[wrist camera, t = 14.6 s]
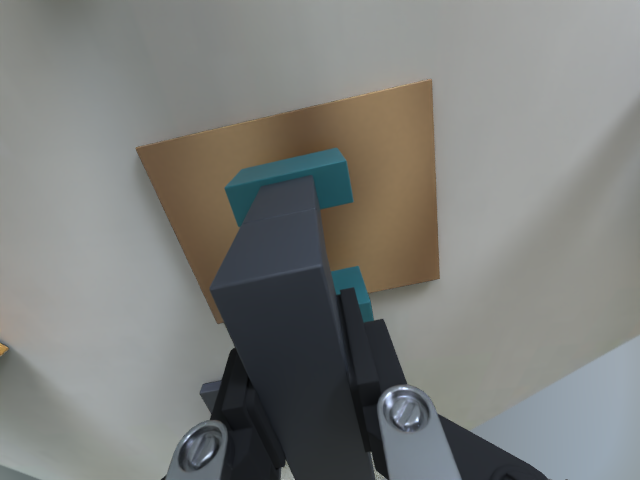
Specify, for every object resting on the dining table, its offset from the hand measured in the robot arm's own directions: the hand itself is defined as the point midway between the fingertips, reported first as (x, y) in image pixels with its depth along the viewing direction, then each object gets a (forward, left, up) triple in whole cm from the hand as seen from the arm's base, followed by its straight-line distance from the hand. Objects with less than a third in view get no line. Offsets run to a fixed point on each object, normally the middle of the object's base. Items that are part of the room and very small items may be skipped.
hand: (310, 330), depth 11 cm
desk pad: (0, 0, -11) cm, 11 cm away
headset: (0, 0, -9) cm, 9 cm away
